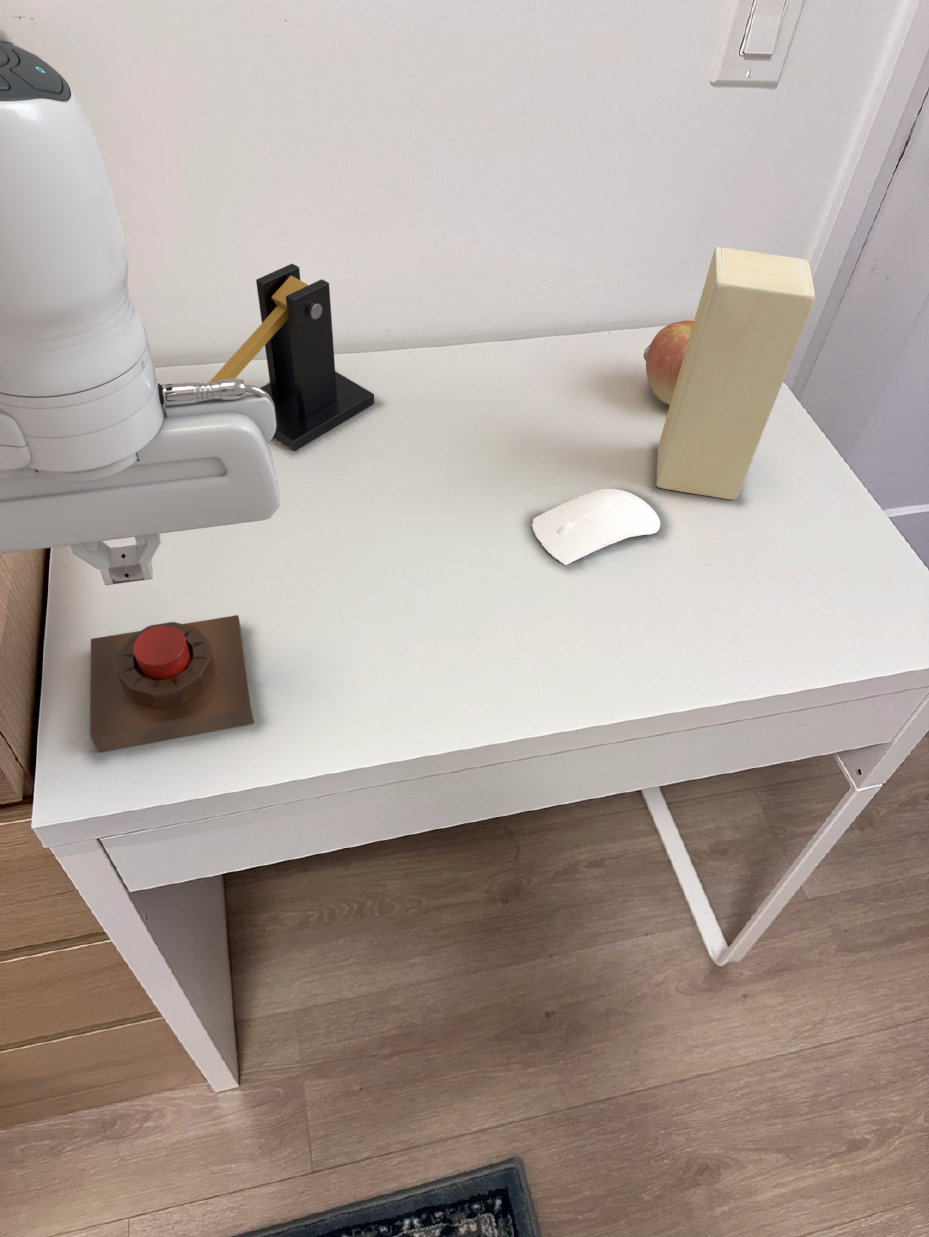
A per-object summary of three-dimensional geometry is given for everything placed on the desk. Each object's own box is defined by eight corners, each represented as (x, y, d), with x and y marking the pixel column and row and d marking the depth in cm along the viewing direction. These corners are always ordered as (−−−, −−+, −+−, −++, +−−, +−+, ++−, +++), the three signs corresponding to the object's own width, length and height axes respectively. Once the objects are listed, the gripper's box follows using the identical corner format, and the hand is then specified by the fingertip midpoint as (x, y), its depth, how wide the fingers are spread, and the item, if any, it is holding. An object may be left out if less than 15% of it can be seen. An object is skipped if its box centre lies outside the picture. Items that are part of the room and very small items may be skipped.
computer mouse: (523, 520, 80) (526, 501, 79) (632, 488, 84) (637, 469, 82) (559, 569, 76) (563, 550, 75) (672, 533, 80) (678, 514, 79)
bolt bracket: (294, 451, 85) (279, 323, 75) (234, 412, 89) (212, 284, 78) (374, 403, 91) (370, 278, 80) (315, 368, 94) (304, 244, 84)
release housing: (98, 753, 62) (82, 721, 59) (98, 656, 68) (83, 623, 65) (254, 723, 64) (247, 692, 61) (242, 632, 70) (234, 599, 67)
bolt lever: (213, 436, 79) (200, 421, 76) (178, 413, 81) (164, 397, 78) (327, 307, 81) (317, 289, 79) (291, 287, 83) (280, 269, 81)
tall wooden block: (736, 454, 88) (809, 254, 73) (738, 501, 84) (817, 298, 68) (657, 442, 89) (712, 241, 73) (655, 488, 84) (713, 284, 68)
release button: (139, 683, 62) (133, 668, 61) (137, 645, 64) (132, 630, 63) (191, 674, 63) (187, 659, 61) (188, 637, 65) (183, 621, 64)
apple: (630, 408, 93) (646, 341, 87) (649, 365, 98) (665, 299, 92) (711, 429, 91) (733, 362, 85) (725, 384, 96) (747, 318, 90)
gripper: (264, 345, 50) (284, 521, 61) (-131, 378, 46) (-36, 562, 56) (278, 410, 46) (298, 586, 57) (-152, 453, 42) (-45, 636, 52)
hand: (129, 575), depth 57 cm, fingers closed
